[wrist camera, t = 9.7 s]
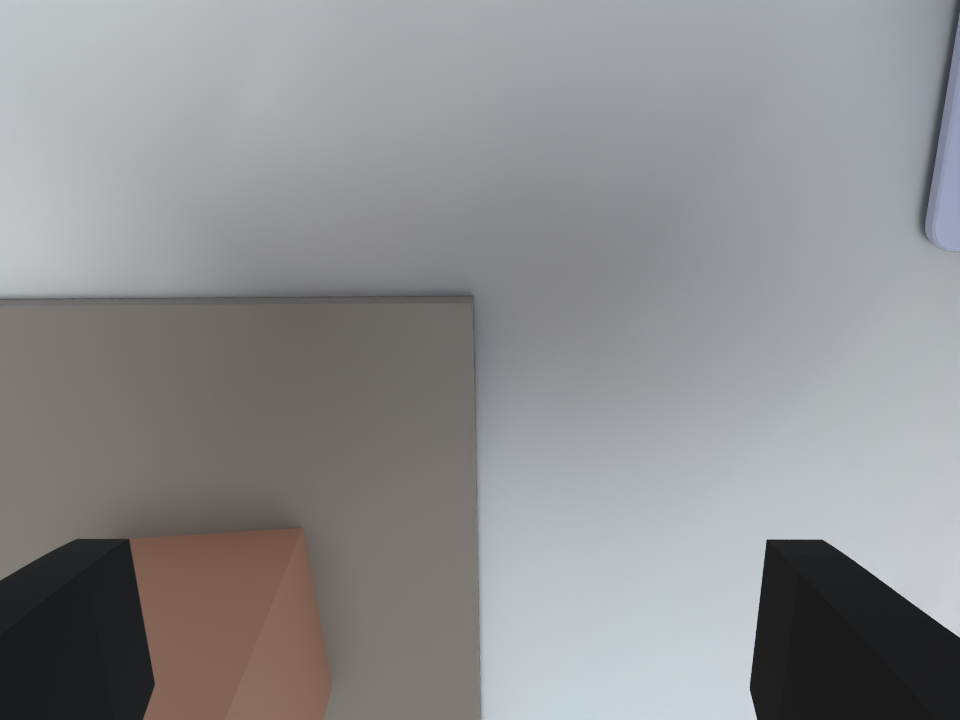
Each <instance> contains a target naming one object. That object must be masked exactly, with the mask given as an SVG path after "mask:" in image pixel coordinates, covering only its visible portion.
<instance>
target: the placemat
mask: <svg viewBox="0 0 960 720" xmlns="http://www.w3.org/2000/svg"><path fill="white" fill-rule="evenodd" d="M290 528H303V531H304V537H305V542H306V548H307V553H308V559H309V564H310V570H311V575H312V581H313V586H314V592H315V597H316V603H317V608H318V614H319V619H320V625H321V630H322V636H323V641H324V647H325V652H326V658H327V663H328V669H329V674H330V680H331V685H332V689H331V693H330V696H329V700H328V704H327V708H326V712H325V716H324V719H323V720H481V703H480V648H479V593H478V538H477V483H476V428H475V373H474V318H473V296H423V297H278V298H132V299H0V580H2V579H4V578H5V577H7V576H9V575H10V574H12V573H14V572H16V571H17V570H19V569H21V568H22V567H24V566H26V565H28V564H29V563H31V562H33V561H35V560H36V559H38V558H40V557H42V556H44V555H45V554H47V553H49V552H51V551H53V550H55V549H57V548H59V547H61V546H63V545H65V544H67V543H69V542H71V541H73V540H75V539H134V538H150V537H165V536H181V535H196V534H212V533H228V532H243V531H259V530H275V529H290Z"/></svg>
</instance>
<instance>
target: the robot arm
mask: <svg viewBox="0 0 960 720" xmlns="http://www.w3.org/2000/svg"><path fill="white" fill-rule="evenodd" d="M925 233H926V235H927V237H928V239H929V241H930V242H931V243H933V244H934V245H936V246H937V247H939V248H941V249H943V250H946V251H952V252H960V14H959V20H958V26H957V32H956V38H955V44H954V50H953V56H952V63H951V69H950V75H949V81H948V87H947V93H946V99H945V105H944V111H943V118H942V124H941V130H940V136H939V142H938V148H937V154H936V160H935V166H934V172H933V179H932V185H931V191H930V197H929V203H928V209H927V215H926V221H925ZM154 687H155V681H154V675H153V670H152V664H151V658H150V653H149V647H148V642H147V636H146V630H145V625H144V619H143V614H142V608H141V602H140V597H139V591H138V586H137V580H136V574H135V569H134V563H133V557H132V552H131V546H130V541H129V539H75V540H73V541H71V542H69V543H67V544H65V545H63V546H61V547H59V548H57V549H55V550H53V551H51V552H49V553H47V554H45V555H44V556H42V557H40V558H38V559H36V560H35V561H33V562H31V563H29V564H28V565H26V566H24V567H22V568H21V569H19V570H17V571H16V572H14V573H12V574H10V575H9V576H7V577H5V578H4V579H2V580H0V720H143V718H144V715H145V712H146V710H147V707H148V704H149V701H150V698H151V695H152V692H153V689H154ZM750 692H751V696H752V700H753V704H754V708H755V712H756V716H757V720H960V638H959V637H958V636H956V635H955V634H954V633H952V632H951V631H949V630H948V629H947V628H945V627H944V626H942V625H941V624H940V623H938V622H937V621H935V620H934V619H933V618H931V617H930V616H929V615H927V614H926V613H924V612H923V611H922V610H920V609H919V608H918V607H916V606H915V605H913V604H912V603H911V602H909V601H908V600H907V599H905V598H904V597H902V596H901V595H900V594H898V593H897V592H896V591H894V590H893V589H892V588H890V587H889V586H888V585H886V584H885V583H883V582H882V581H881V580H879V579H878V578H877V577H875V576H874V575H873V574H871V573H870V572H868V571H867V570H866V569H864V568H863V567H862V566H860V565H859V564H857V563H856V562H855V561H853V560H852V559H850V558H849V557H848V556H846V555H845V554H843V553H842V552H840V551H839V550H838V549H836V548H835V547H833V546H831V545H830V544H828V543H827V542H825V541H824V540H767V542H766V551H765V559H764V568H763V577H762V586H761V594H760V603H759V612H758V620H757V629H756V638H755V647H754V655H753V664H752V673H751V681H750Z"/></svg>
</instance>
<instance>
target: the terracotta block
mask: <svg viewBox="0 0 960 720" xmlns="http://www.w3.org/2000/svg"><path fill="white" fill-rule="evenodd" d="M129 541H130V546H131V552H132V557H133V563H134V569H135V574H136V580H137V586H138V591H139V597H140V602H141V608H142V614H143V619H144V625H145V630H146V636H147V642H148V647H149V653H150V658H151V664H152V670H153V675H154V681H155V687H154V689H153V692H152V695H151V698H150V701H149V704H148V707H147V710H146V712H145V715H144V718H143V720H323V719H324V716H325V712H326V708H327V704H328V700H329V696H330V693H331V689H332V685H331V680H330V674H329V669H328V663H327V658H326V652H325V647H324V641H323V636H322V630H321V625H320V619H319V614H318V608H317V603H316V597H315V592H314V586H313V581H312V575H311V570H310V564H309V559H308V553H307V548H306V542H305V537H304V531H303V528H290V529H275V530H259V531H243V532H228V533H212V534H196V535H181V536H165V537H150V538H134V539H129Z"/></svg>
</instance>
